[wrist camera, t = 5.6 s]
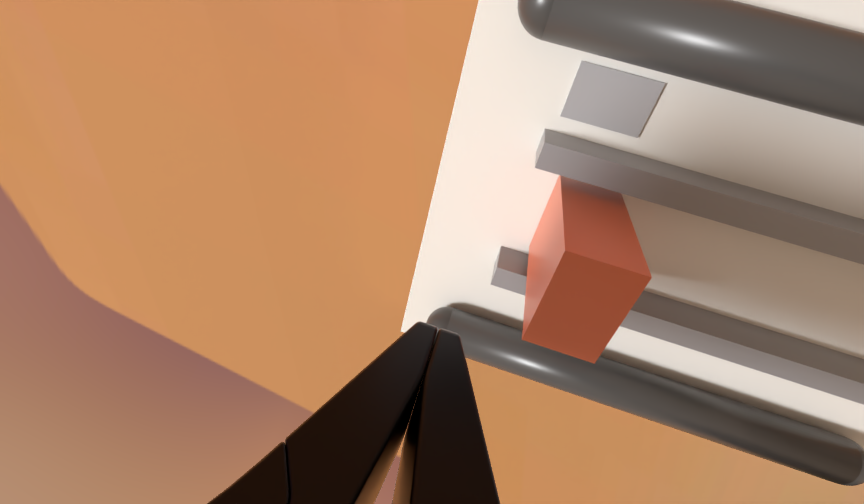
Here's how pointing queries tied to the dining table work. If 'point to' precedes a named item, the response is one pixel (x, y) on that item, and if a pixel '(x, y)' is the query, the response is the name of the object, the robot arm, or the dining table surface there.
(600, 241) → the knob
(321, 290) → the dining table surface
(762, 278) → the panel
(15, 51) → the dining table surface
